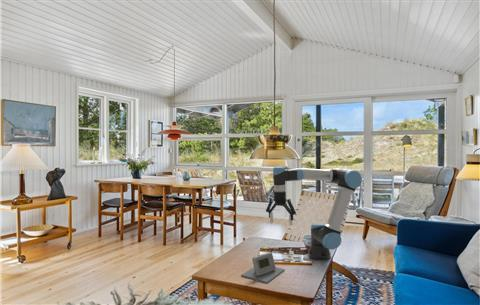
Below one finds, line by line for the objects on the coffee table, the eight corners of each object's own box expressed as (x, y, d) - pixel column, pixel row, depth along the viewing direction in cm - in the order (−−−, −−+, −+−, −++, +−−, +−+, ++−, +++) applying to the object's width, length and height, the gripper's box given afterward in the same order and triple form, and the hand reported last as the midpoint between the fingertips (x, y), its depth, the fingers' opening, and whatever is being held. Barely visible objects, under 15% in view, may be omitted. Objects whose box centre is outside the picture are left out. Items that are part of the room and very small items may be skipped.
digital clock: (256, 277, 192) (256, 259, 192) (248, 272, 201) (248, 255, 200) (279, 272, 200) (278, 255, 199) (271, 267, 208) (271, 250, 207)
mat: (260, 264, 215) (260, 263, 215) (284, 270, 204) (284, 269, 204) (241, 276, 196) (241, 274, 196) (267, 283, 186) (267, 282, 186)
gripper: (259, 190, 210) (261, 223, 211) (295, 193, 197) (296, 227, 198) (265, 189, 217) (266, 220, 218) (300, 191, 203) (301, 224, 204)
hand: (281, 224), depth 208 cm, fingers open, 13 cm apart
